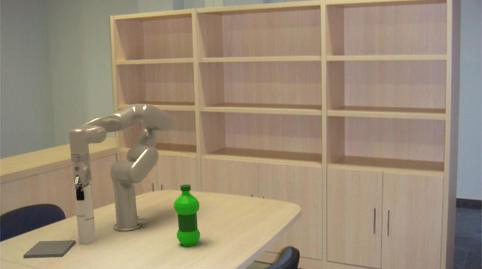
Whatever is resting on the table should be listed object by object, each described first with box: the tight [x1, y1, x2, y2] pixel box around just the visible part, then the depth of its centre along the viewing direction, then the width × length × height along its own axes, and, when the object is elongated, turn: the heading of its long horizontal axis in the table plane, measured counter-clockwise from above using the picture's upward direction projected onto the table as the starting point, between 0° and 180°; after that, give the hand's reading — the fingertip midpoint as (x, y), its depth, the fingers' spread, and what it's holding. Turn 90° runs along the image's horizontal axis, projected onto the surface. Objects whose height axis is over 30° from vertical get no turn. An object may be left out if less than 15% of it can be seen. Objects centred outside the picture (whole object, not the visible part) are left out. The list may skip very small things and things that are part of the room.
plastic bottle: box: [173, 184, 201, 247], centre depth 221 cm, size 10×10×25 cm
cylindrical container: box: [73, 183, 97, 246], centre depth 230 cm, size 7×7×25 cm
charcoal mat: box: [23, 239, 77, 259], centre depth 223 cm, size 16×16×1 cm
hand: (83, 197), depth 229 cm, fingers closed on cylindrical container, 7 cm apart
